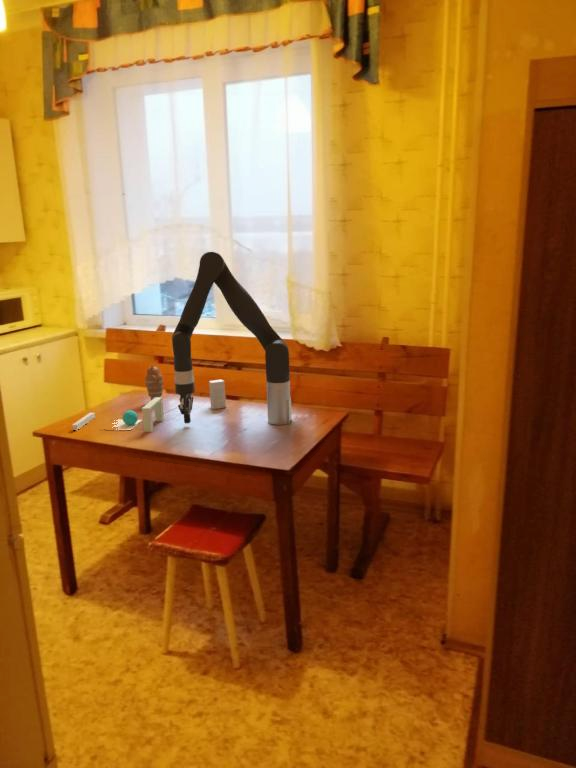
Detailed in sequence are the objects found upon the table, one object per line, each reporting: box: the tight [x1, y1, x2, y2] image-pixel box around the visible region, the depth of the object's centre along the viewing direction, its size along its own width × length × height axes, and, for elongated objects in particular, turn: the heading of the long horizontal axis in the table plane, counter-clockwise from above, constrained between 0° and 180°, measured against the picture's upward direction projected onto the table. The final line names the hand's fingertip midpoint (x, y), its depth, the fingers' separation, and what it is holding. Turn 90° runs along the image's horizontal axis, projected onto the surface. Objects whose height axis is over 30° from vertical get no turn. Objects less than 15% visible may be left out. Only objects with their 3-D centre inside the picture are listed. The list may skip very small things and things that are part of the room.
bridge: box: [141, 396, 165, 433], centre depth 240 cm, size 3×15×10 cm, turn 172°
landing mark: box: [112, 418, 143, 431], centre depth 244 cm, size 13×13×1 cm
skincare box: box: [208, 379, 227, 410], centre depth 262 cm, size 6×4×12 cm
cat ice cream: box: [144, 363, 164, 401], centre depth 269 cm, size 9×8×18 cm
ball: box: [122, 409, 139, 425], centre depth 243 cm, size 6×6×6 cm
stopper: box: [71, 412, 96, 431], centre depth 245 cm, size 2×16×2 cm, turn 172°
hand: (187, 422), depth 239 cm, fingers closed
